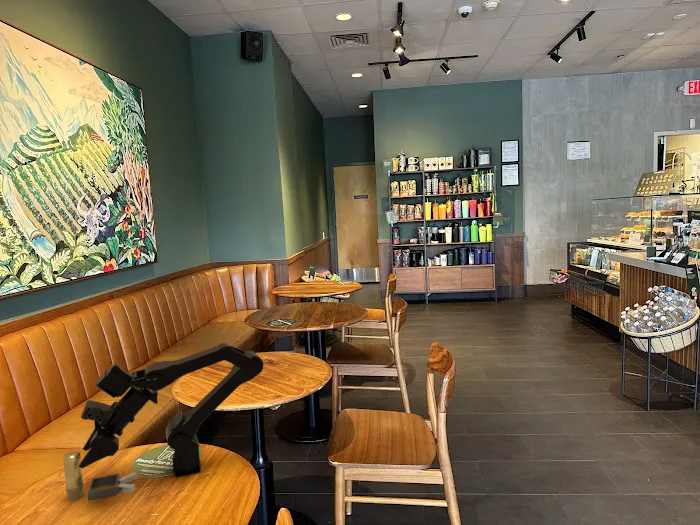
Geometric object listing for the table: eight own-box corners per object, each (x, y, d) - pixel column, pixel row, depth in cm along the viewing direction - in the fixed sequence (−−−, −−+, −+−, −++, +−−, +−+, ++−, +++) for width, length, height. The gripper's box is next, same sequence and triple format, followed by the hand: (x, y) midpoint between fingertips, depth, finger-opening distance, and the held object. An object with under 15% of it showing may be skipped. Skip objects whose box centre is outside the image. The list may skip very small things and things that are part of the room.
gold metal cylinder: (85, 490, 116) (81, 449, 115) (82, 499, 112) (78, 456, 111) (68, 494, 115) (64, 452, 113) (65, 502, 111) (61, 460, 110)
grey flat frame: (137, 476, 122) (137, 468, 122) (135, 492, 115) (134, 484, 114) (93, 485, 118) (92, 477, 118) (87, 502, 111) (86, 494, 111)
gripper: (104, 378, 122) (59, 426, 119) (98, 403, 106) (46, 459, 102) (138, 400, 127) (96, 447, 123) (138, 428, 110) (89, 483, 106)
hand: (82, 458), depth 113 cm, fingers open, 9 cm apart
